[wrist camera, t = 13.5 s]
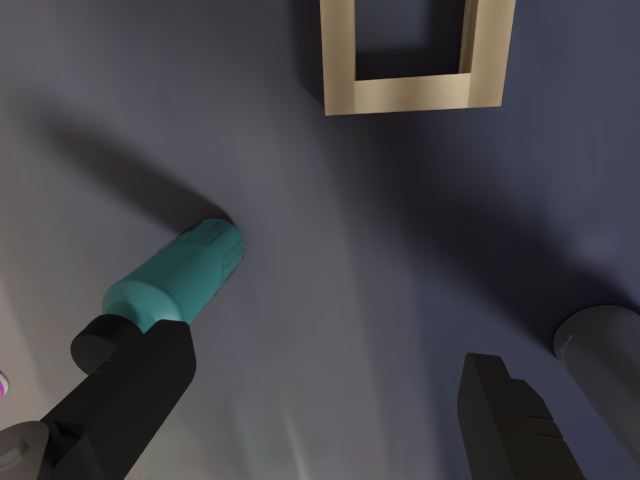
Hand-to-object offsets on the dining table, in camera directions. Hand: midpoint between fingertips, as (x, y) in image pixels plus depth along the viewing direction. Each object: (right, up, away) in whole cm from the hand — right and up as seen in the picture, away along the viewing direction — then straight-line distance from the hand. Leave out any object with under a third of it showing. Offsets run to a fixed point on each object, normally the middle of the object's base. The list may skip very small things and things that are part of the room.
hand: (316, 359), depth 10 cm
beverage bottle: (-11, +4, +29) cm, 31 cm away
